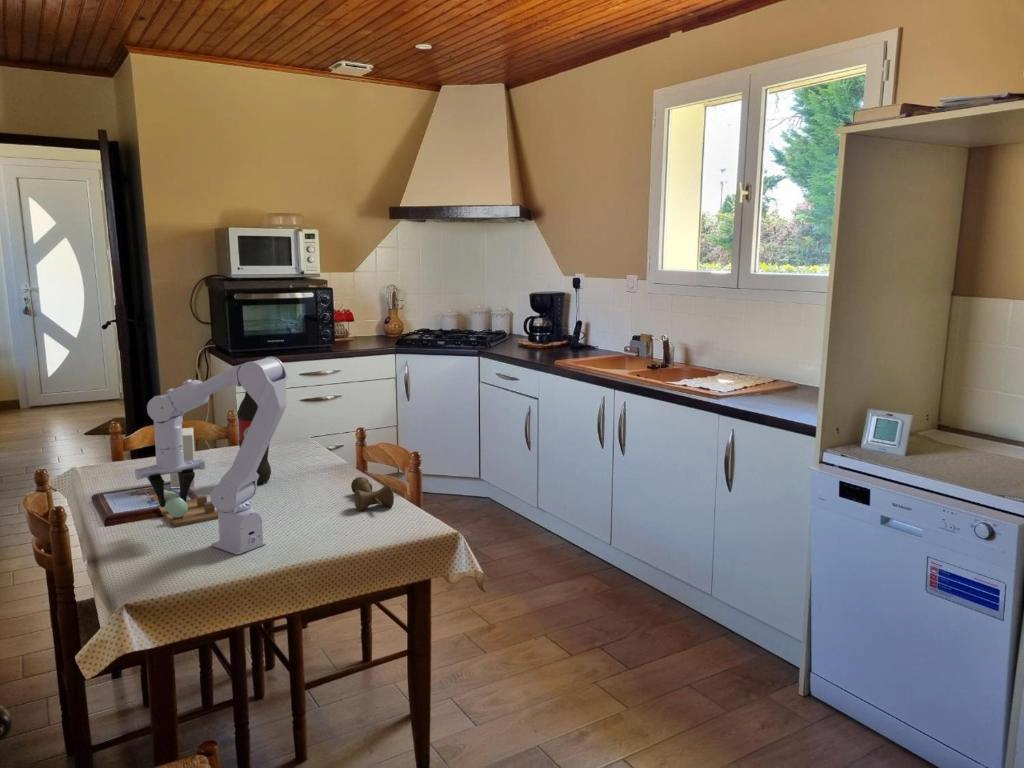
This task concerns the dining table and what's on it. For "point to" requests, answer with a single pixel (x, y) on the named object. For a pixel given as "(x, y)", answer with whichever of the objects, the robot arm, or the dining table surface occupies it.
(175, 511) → the bottle
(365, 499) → the kendama
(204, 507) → the bottle cradle
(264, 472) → the cola bottle
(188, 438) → the skincare box
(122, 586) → the dining table surface
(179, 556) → the dining table surface
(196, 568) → the dining table surface
